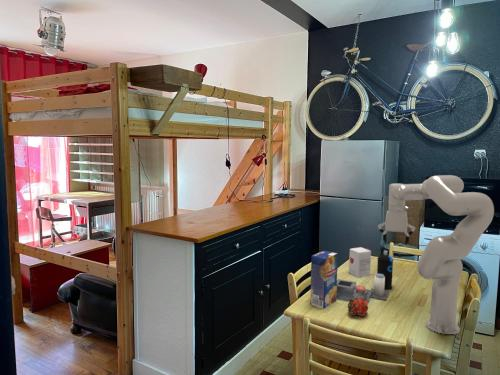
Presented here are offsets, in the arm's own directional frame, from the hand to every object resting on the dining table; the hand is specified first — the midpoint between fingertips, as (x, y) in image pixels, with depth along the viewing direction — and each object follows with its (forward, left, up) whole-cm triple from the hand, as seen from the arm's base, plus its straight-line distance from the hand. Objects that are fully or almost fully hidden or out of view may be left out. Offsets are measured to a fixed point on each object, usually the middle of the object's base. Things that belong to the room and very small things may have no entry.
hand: (395, 243), depth 184 cm
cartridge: (0, +7, -28) cm, 28 cm away
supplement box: (+27, +22, -28) cm, 45 cm away
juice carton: (-22, +29, -28) cm, 46 cm away
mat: (0, +7, -28) cm, 29 cm away
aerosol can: (+12, +6, -28) cm, 32 cm away
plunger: (-12, +14, -25) cm, 31 cm away
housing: (-7, +19, -28) cm, 35 cm away
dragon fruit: (-27, +12, -28) cm, 41 cm away
